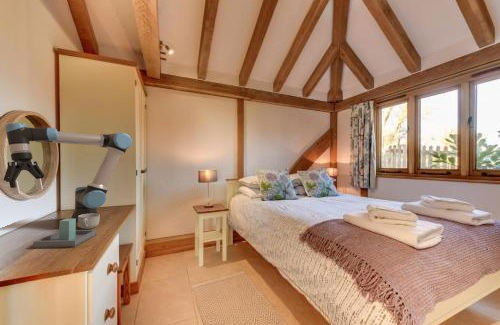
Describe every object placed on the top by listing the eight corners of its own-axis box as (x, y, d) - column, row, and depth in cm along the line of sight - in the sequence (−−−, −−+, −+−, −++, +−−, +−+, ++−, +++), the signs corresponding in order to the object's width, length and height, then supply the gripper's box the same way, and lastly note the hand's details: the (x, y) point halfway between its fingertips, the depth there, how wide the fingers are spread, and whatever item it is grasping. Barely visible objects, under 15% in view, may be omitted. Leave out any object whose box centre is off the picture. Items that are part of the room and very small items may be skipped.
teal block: (66, 237, 108) (66, 218, 108) (75, 237, 108) (75, 218, 108) (59, 240, 103) (59, 221, 103) (68, 240, 103) (69, 221, 103)
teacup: (84, 225, 131) (84, 212, 131) (103, 224, 133) (103, 212, 133) (69, 233, 117) (70, 219, 117) (91, 232, 119) (91, 218, 119)
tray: (60, 235, 112) (61, 230, 112) (96, 235, 114) (96, 229, 114) (33, 247, 97) (33, 241, 97) (74, 247, 99) (75, 241, 98)
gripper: (34, 154, 121) (41, 189, 121) (-14, 152, 96) (-5, 197, 97) (48, 152, 122) (55, 187, 122) (4, 150, 97) (13, 194, 98)
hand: (28, 192), depth 110 cm, fingers open, 13 cm apart
